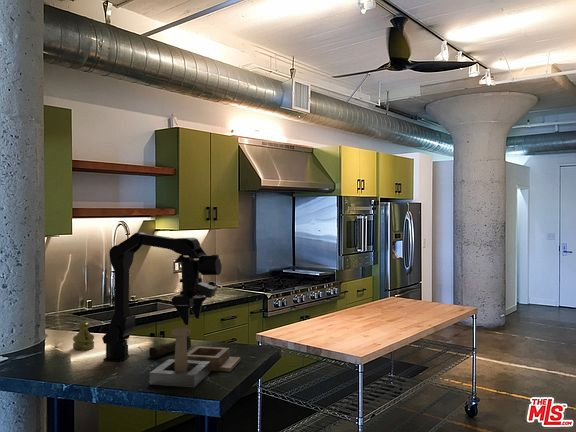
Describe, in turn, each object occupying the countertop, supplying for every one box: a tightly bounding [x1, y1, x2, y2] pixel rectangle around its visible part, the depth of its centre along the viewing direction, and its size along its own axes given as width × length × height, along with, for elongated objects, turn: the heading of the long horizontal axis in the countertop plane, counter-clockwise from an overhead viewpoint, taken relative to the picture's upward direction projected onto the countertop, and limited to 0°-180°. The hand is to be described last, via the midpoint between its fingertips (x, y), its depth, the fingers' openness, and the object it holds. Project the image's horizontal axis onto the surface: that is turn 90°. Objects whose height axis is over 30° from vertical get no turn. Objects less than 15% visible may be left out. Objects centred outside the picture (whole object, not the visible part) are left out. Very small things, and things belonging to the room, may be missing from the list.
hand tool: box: [148, 335, 192, 359], centre depth 182 cm, size 19×4×5 cm, turn 144°
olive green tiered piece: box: [72, 321, 95, 352], centre depth 187 cm, size 7×7×10 cm
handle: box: [171, 326, 192, 372], centre depth 153 cm, size 5×6×15 cm
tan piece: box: [187, 345, 242, 372], centre depth 167 cm, size 20×12×4 cm, turn 80°
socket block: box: [149, 358, 211, 389], centre depth 153 cm, size 14×14×4 cm
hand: (192, 321), depth 167 cm, fingers open, 9 cm apart
